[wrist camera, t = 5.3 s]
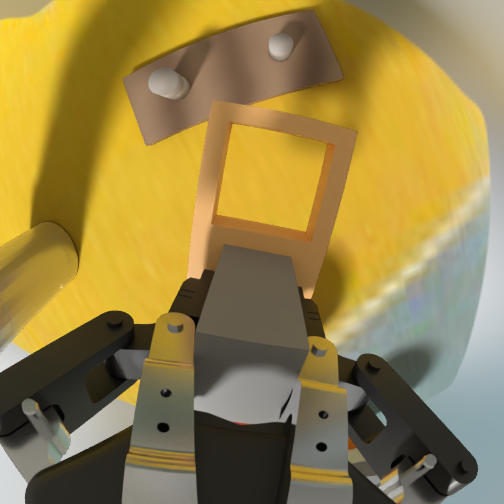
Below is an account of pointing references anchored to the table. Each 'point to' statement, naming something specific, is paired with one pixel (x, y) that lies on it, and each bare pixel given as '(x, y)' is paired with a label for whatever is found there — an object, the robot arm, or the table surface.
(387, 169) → the table surface
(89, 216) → the table surface
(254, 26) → the pin board
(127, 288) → the table surface
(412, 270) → the table surface
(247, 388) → the hole bar
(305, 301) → the robot arm
